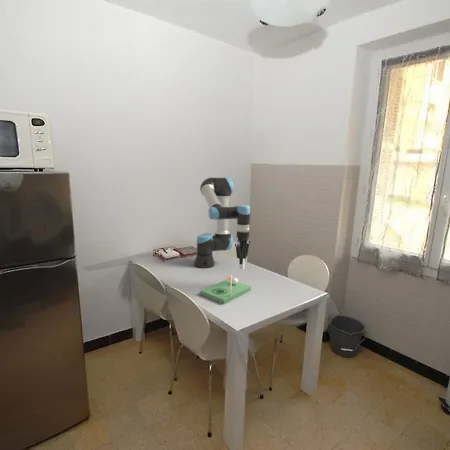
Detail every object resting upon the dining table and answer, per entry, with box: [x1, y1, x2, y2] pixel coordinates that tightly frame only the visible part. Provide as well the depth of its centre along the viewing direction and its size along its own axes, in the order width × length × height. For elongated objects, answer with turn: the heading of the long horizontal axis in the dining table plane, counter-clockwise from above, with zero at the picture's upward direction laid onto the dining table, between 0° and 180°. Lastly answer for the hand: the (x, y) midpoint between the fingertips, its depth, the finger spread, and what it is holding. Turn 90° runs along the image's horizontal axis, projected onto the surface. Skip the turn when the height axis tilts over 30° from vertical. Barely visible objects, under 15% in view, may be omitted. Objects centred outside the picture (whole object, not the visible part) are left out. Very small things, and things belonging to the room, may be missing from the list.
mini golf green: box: [199, 275, 252, 305], centre depth 172 cm, size 25×18×14 cm
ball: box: [232, 277, 239, 285], centre depth 178 cm, size 4×4×4 cm
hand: (241, 268), depth 181 cm, fingers closed
